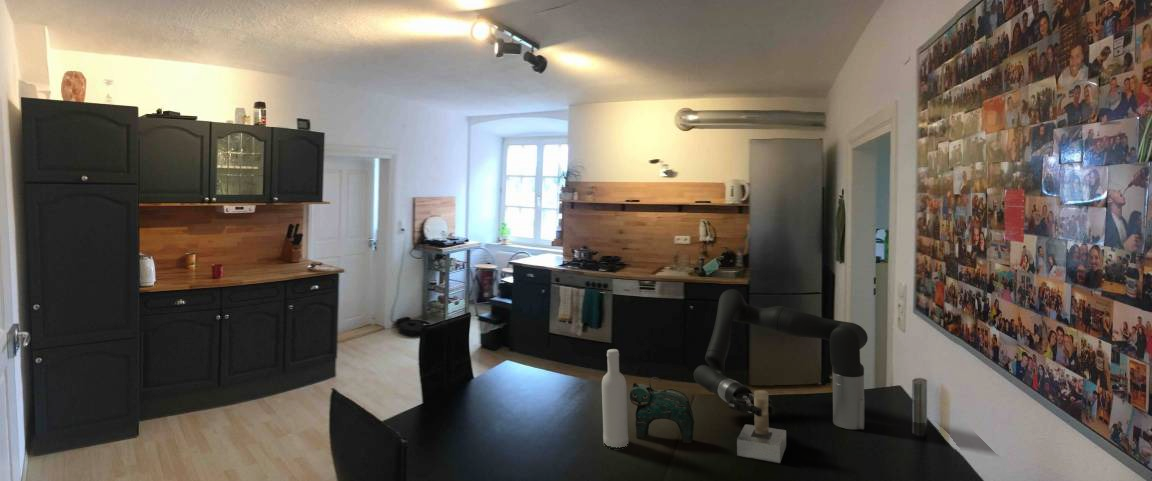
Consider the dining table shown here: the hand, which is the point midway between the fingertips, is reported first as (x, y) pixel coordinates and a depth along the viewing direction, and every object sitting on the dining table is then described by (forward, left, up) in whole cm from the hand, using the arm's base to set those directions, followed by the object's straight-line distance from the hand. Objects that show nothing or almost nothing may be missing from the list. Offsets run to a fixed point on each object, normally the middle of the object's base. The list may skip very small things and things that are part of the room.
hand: (767, 412), depth 164 cm
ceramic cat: (+32, +1, -13) cm, 35 cm away
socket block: (+2, -2, -13) cm, 13 cm away
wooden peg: (+2, -2, -7) cm, 8 cm away
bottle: (+44, +11, -13) cm, 47 cm away
